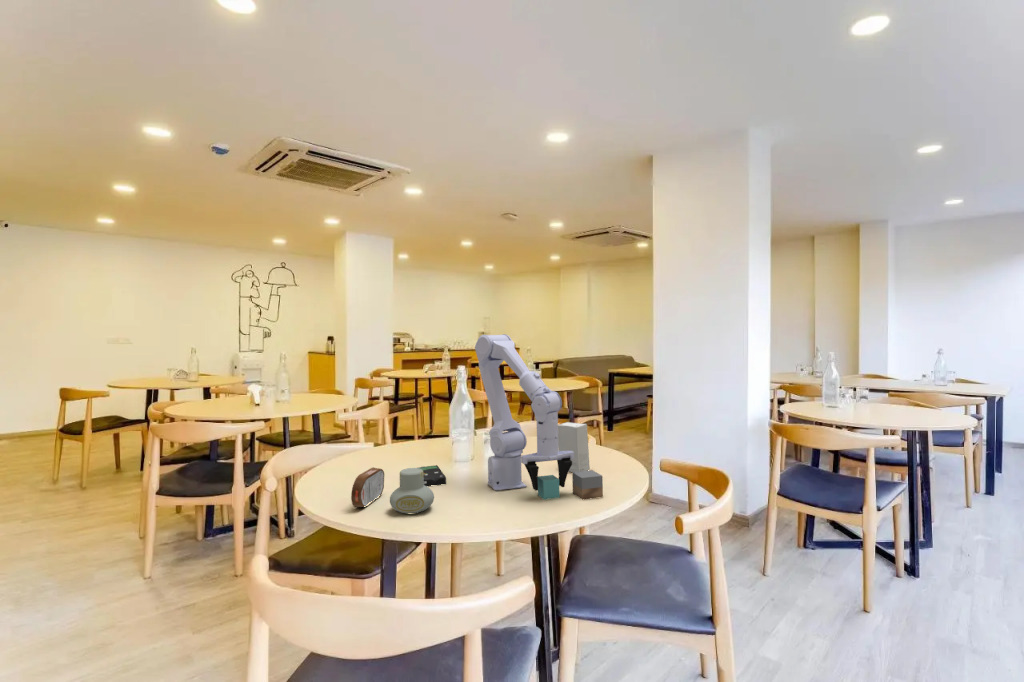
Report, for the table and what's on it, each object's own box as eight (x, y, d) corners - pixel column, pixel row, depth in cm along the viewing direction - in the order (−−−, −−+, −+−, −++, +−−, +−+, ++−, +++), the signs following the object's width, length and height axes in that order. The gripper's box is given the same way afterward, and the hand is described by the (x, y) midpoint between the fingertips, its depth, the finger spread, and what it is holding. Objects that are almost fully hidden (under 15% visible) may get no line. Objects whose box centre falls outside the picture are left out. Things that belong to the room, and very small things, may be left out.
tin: (376, 493, 141) (375, 463, 141) (386, 494, 141) (386, 463, 141) (350, 512, 127) (349, 479, 126) (362, 513, 126) (361, 479, 126)
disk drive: (447, 486, 149) (437, 473, 163) (446, 477, 149) (437, 464, 163) (411, 490, 145) (404, 476, 159) (411, 481, 145) (404, 467, 159)
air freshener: (387, 517, 123) (386, 476, 123) (393, 505, 131) (392, 467, 131) (432, 515, 124) (431, 474, 123) (435, 503, 132) (434, 465, 132)
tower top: (582, 489, 133) (581, 477, 133) (572, 483, 139) (572, 472, 139) (602, 487, 135) (602, 475, 135) (592, 480, 140) (592, 470, 140)
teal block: (543, 499, 133) (543, 480, 133) (537, 494, 138) (537, 476, 138) (559, 497, 135) (559, 479, 135) (553, 492, 139) (552, 474, 139)
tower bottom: (582, 500, 133) (582, 489, 133) (572, 494, 139) (572, 483, 138) (602, 498, 135) (602, 486, 135) (592, 491, 140) (592, 480, 140)
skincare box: (590, 470, 161) (589, 424, 160) (578, 474, 156) (577, 426, 156) (569, 466, 167) (568, 421, 166) (557, 469, 162) (556, 423, 162)
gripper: (527, 442, 130) (528, 495, 130) (578, 437, 134) (579, 488, 135) (518, 437, 137) (519, 487, 137) (567, 433, 141) (568, 481, 141)
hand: (548, 487), depth 136 cm, fingers open, 7 cm apart
